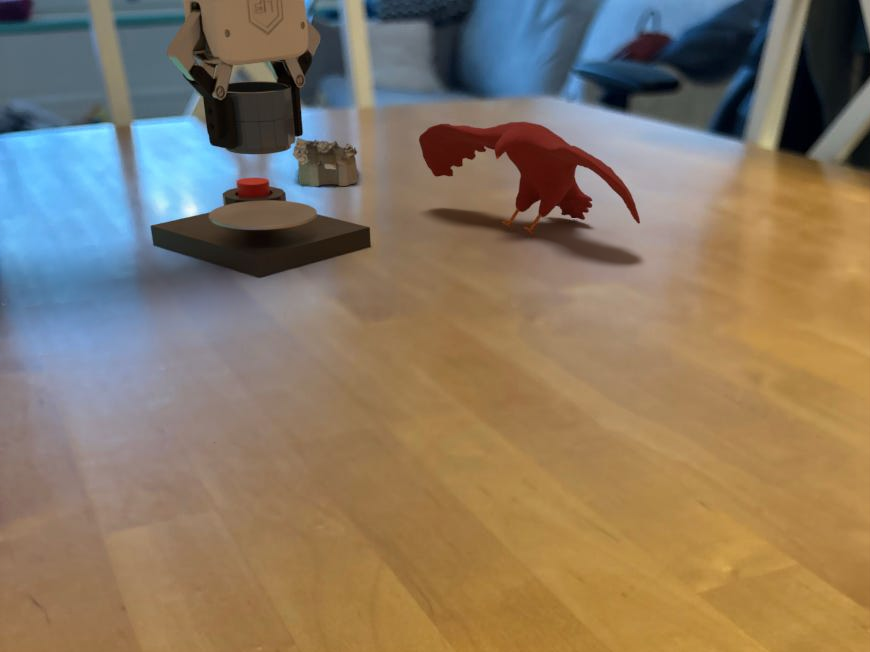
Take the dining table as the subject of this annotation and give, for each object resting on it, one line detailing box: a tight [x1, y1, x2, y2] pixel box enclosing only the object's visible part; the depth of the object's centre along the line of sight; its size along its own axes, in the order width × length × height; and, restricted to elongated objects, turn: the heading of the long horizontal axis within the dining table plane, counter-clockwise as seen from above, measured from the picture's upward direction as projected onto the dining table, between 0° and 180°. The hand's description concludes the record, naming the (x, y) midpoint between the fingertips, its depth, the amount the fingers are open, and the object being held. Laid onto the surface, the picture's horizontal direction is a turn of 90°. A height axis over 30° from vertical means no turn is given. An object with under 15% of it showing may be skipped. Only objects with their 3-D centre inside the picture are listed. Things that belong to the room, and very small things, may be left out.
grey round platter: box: [208, 200, 318, 230], centre depth 104 cm, size 10×10×1 cm
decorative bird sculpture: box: [418, 121, 641, 237], centre depth 112 cm, size 28×9×15 cm
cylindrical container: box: [224, 80, 297, 155], centre depth 99 cm, size 7×7×5 cm
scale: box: [149, 186, 372, 279], centre depth 108 cm, size 17×14×4 cm
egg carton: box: [292, 137, 358, 187], centre depth 133 cm, size 11×8×4 cm
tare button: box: [236, 177, 271, 198], centre depth 112 cm, size 3×3×2 cm
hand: (257, 138), depth 100 cm, fingers closed on cylindrical container, 6 cm apart
